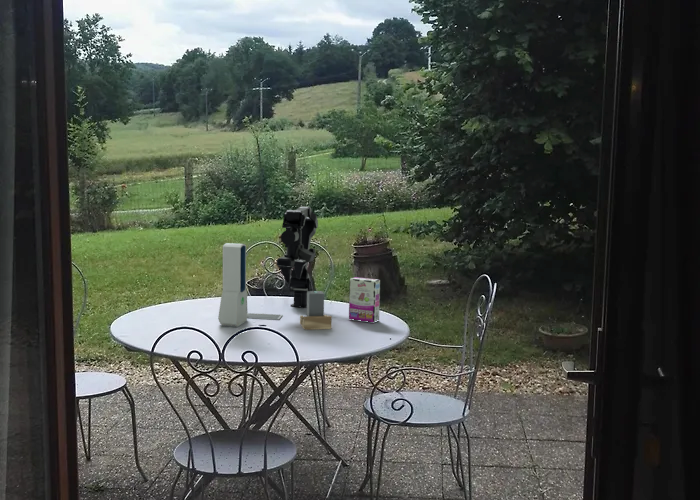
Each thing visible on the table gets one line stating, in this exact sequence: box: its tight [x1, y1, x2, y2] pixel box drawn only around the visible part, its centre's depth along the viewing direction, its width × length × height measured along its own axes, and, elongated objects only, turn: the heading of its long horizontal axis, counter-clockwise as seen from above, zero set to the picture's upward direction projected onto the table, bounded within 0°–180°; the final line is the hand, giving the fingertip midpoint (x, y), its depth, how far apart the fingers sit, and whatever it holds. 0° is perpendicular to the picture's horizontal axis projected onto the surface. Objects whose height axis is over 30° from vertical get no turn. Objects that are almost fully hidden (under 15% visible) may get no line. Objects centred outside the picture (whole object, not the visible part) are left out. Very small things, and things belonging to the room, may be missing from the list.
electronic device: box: [217, 242, 249, 328], centre depth 278 cm, size 12×8×30 cm, turn 168°
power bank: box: [306, 290, 325, 316], centre depth 278 cm, size 5×6×12 cm
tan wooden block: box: [299, 314, 333, 331], centre depth 278 cm, size 10×10×5 cm
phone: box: [247, 312, 284, 321], centre depth 291 cm, size 7×14×1 cm, turn 83°
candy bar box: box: [348, 276, 381, 323], centre depth 288 cm, size 11×5×16 cm, turn 62°
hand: (293, 280), depth 297 cm, fingers open, 9 cm apart
